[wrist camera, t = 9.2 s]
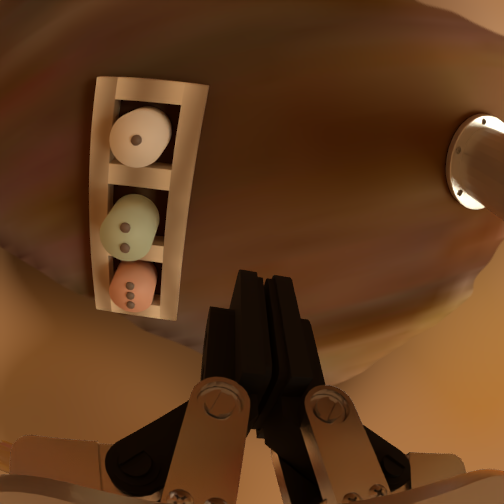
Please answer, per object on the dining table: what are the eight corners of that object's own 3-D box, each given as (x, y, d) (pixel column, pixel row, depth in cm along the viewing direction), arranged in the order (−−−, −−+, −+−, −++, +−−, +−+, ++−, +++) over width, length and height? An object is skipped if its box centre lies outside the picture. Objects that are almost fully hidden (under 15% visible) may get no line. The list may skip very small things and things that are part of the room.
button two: (161, 197, 29) (153, 216, 25) (157, 242, 31) (150, 265, 27) (112, 191, 28) (98, 209, 24) (112, 235, 30) (99, 258, 26)
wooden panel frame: (209, 85, 26) (208, 86, 24) (177, 309, 39) (176, 320, 37) (104, 76, 24) (97, 76, 22) (100, 298, 37) (96, 308, 35)
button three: (159, 258, 34) (153, 281, 31) (157, 292, 37) (152, 316, 33) (117, 252, 33) (107, 274, 30) (118, 286, 36) (109, 310, 32)
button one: (175, 108, 26) (168, 114, 23) (168, 158, 29) (161, 171, 25) (125, 104, 25) (111, 109, 22) (120, 153, 28) (106, 165, 24)
